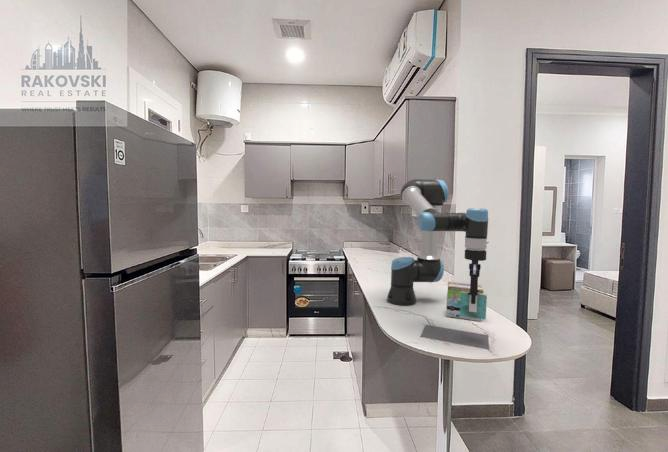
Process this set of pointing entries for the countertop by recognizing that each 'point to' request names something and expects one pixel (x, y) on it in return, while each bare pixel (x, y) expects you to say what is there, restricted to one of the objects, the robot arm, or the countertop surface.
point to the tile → (480, 305)
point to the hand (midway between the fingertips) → (472, 310)
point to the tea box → (458, 299)
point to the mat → (456, 336)
